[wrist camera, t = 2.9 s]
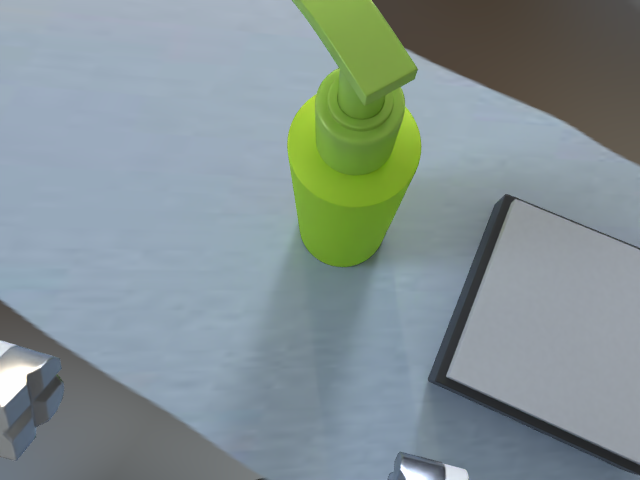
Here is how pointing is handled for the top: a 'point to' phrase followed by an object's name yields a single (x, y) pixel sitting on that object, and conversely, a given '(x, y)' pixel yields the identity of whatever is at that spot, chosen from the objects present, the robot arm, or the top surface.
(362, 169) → the soap dispenser
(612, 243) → the kitchen scale
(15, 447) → the robot arm
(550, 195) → the top surface
